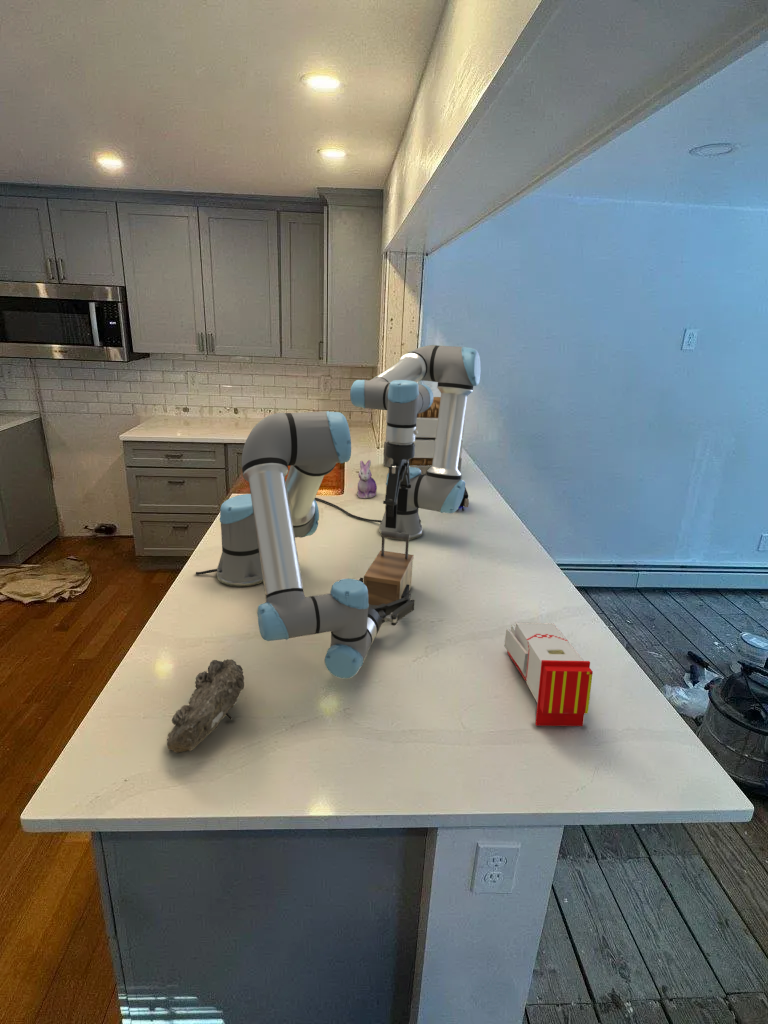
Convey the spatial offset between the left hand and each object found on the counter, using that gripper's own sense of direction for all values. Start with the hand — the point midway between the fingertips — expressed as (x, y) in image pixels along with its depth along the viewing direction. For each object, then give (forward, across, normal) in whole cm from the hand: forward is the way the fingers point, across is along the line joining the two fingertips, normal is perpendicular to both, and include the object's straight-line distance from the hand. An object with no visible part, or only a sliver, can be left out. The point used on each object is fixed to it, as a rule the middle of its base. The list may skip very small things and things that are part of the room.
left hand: (384, 585), depth 148 cm
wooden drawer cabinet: (+132, -15, -6) cm, 133 cm away
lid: (+6, 0, +2) cm, 6 cm away
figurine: (+89, -30, -6) cm, 94 cm away
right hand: (+11, 0, +15) cm, 18 cm away
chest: (+5, 0, -6) cm, 8 cm away
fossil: (-51, -21, -6) cm, 56 cm away
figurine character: (+89, +9, -6) cm, 89 cm away
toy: (-21, +40, -6) cm, 46 cm away
